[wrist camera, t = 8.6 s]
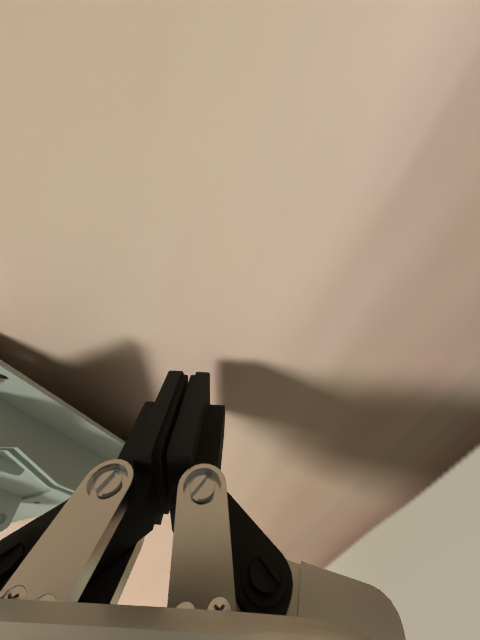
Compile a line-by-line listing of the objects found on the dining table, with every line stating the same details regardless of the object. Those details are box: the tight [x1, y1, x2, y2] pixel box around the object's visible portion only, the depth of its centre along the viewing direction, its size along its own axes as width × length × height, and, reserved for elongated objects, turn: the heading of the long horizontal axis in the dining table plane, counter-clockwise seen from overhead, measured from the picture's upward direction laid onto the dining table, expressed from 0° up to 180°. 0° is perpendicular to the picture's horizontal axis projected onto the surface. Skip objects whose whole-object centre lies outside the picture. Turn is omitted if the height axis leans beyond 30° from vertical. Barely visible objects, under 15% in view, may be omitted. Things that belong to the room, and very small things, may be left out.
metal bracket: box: [0, 360, 125, 532], centre depth 14 cm, size 14×6×15 cm
